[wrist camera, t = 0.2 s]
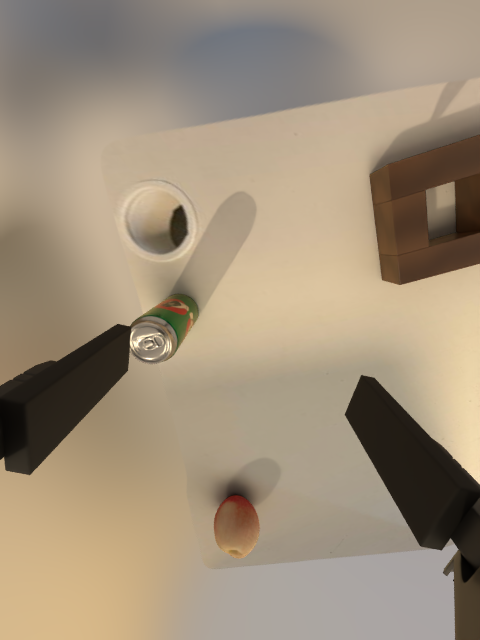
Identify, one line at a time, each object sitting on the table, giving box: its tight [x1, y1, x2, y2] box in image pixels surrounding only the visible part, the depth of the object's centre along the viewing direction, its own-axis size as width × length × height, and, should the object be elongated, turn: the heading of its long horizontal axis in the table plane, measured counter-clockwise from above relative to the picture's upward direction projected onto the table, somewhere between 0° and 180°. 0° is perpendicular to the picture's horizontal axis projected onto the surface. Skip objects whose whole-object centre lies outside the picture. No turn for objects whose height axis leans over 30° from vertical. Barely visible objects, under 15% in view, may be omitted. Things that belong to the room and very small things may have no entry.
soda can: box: [130, 294, 198, 364], centre depth 29 cm, size 5×5×12 cm
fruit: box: [214, 495, 260, 558], centre depth 42 cm, size 8×8×8 cm
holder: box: [370, 135, 480, 285], centre depth 28 cm, size 13×13×4 cm
